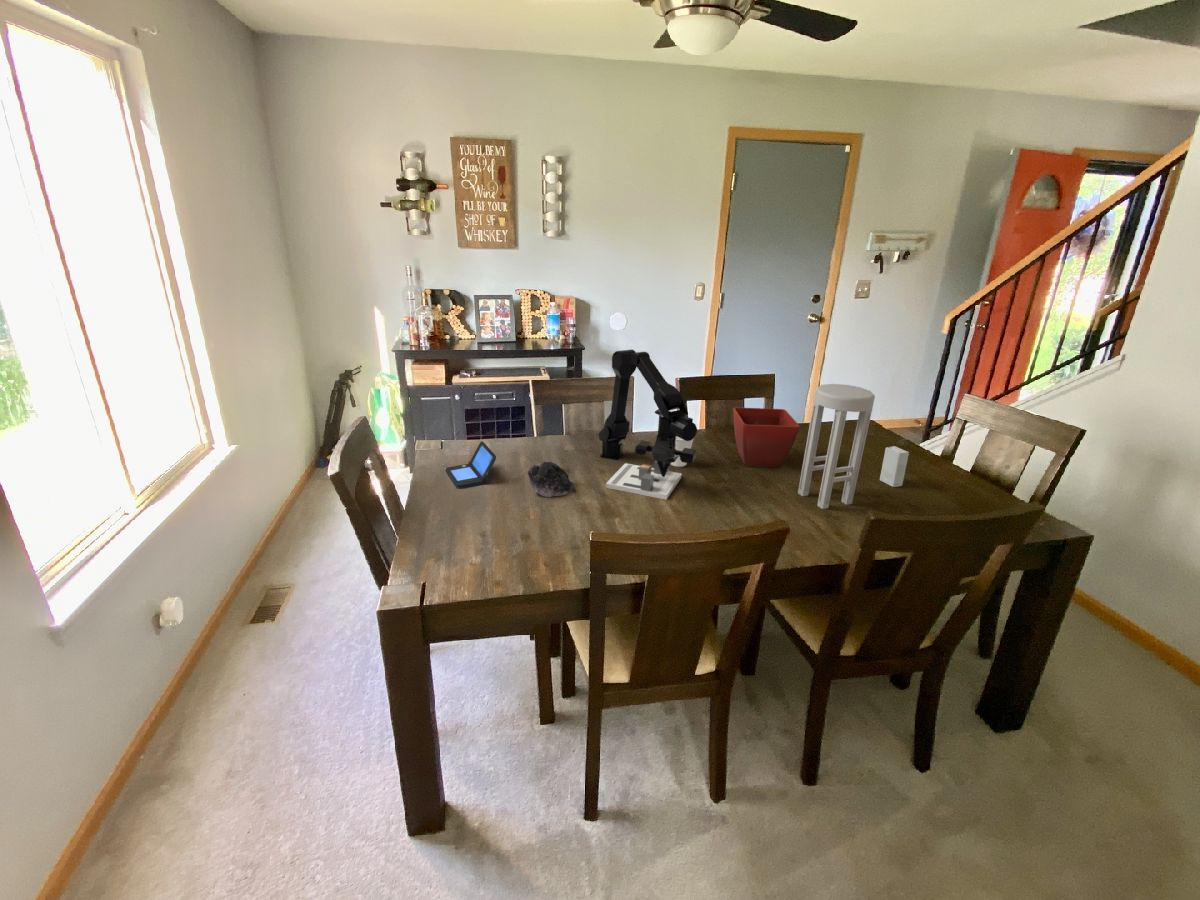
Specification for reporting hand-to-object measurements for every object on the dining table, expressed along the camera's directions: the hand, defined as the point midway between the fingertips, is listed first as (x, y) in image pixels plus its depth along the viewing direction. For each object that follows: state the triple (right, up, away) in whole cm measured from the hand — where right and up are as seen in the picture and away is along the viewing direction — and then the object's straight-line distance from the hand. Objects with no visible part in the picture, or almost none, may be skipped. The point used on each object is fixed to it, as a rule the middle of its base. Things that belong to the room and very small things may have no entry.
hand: (663, 476), depth 182 cm
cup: (+7, +3, +19) cm, 20 cm away
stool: (+50, -7, -4) cm, 51 cm away
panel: (-6, -2, +3) cm, 7 cm away
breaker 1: (-6, -4, -4) cm, 8 cm away
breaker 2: (0, +1, +8) cm, 8 cm away
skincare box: (+77, -3, +8) cm, 77 cm away
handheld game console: (-63, -1, +5) cm, 63 cm away
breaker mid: (-6, -1, +3) cm, 6 cm away
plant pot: (+37, +4, +24) cm, 44 cm away
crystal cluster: (-36, -4, -3) cm, 36 cm away
